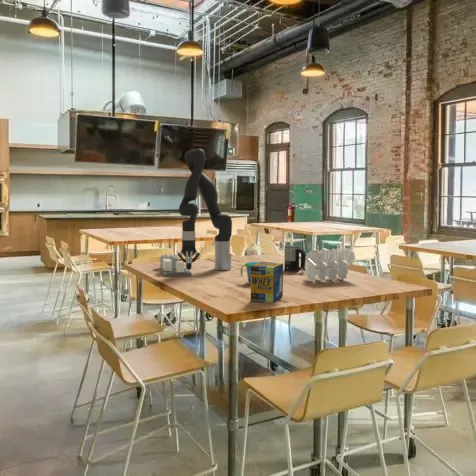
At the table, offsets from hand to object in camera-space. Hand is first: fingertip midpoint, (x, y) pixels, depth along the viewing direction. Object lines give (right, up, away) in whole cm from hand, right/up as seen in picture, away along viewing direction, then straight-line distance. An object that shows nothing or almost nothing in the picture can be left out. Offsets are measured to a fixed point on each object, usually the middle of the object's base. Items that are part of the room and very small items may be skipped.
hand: (188, 269), depth 297 cm
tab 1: (-14, 0, +10) cm, 17 cm away
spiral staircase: (+75, -5, -16) cm, 77 cm away
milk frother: (+63, -2, +20) cm, 66 cm away
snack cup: (+37, -6, -23) cm, 44 cm away
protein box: (+41, -9, -63) cm, 76 cm away
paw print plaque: (-14, -1, +25) cm, 28 cm away
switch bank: (-8, -3, +5) cm, 10 cm away
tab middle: (-12, -1, +4) cm, 13 cm away
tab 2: (-5, -1, -1) cm, 5 cm away
